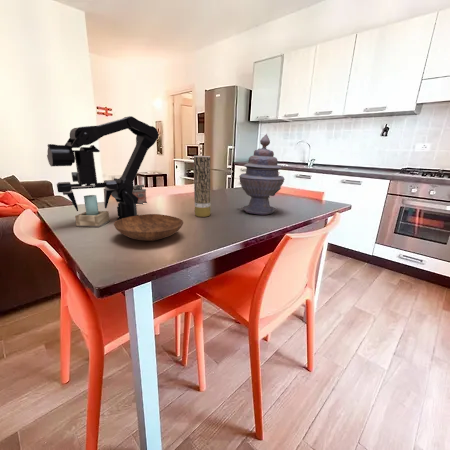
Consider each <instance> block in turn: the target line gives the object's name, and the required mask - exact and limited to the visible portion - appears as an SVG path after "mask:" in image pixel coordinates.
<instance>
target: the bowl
mask: <svg viewBox="0 0 450 450" xmlns="http://www.w3.org/2000/svg"><path fill="white" fill-rule="evenodd" d="M183 225H184V221H183V219H181V218H178V217H176V216H173V215H172V216H171V215H167V214H159V213H148V214H137V216H131V217H127V218H122V219H117V220H115V221H114V223H113V226H114V228H115V229H116V231H118V232H119V233H120V234H121V235H123V236H125V237H127V238H130V239H133V240H139V241H146V242H147V241H148V242H149V241H153V242H155V241H159V240H162V239H165V238H168V237H171V236H172V235H174V234H175V233H178V231H180V229H182V227H183Z"/></svg>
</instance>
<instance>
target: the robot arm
mask: <svg viewBox="0 0 450 450" xmlns="http://www.w3.org/2000/svg"><path fill="white" fill-rule="evenodd" d="M127 129H128V130H129V131H130V132H131V133H132V134H134V135H136V137H135V147H134V149H133V151H132V153H131V156H130V157H129V159H128V162H127V163H126V166H125V168H124V171H123V173H122V175H121V176H120V177H119V178H117V177H114V178H113V179H110V180H109V179H107V180H103V182H98V178H97V171H96V162H95V155H94V153H100V152H101V150H100V149H99V148H97V147H96V146H95V145H94V144H93V143H95V142H97V141H98V140H100V139H101V138H103V137H105V136H108V135H111V134H115V133H118V132H121V131H124V130H125V131H126V130H127ZM159 135H160V134H159V132H158V130H157V128H156V127H155V126H152V125H149V124H147V123H145V122H143V121H140V120H138V119H137V118H136V117H134V116H130V115H129V116H125V117H123V118H120V119H117V120H112V121H110V122H109V121H108V122H106V123H102V124H99V125H98V124H97V125H86V126H79V127H74V128H72V129H70V132H69V138H68V140H67V142H66V143H65V144H52V143H51V144H49V143H47V154H46V157H47V158H46V159H47V161H48V165H49V166H50V167H72V165H73V164H74V163H75V166H76V171H73V172H72V171H71V179H72V182H73V183H71V181H64V182H61V181H60V182H57V183H56V190H57V193H62V195H64V196H65V195H66V196H67V197H68V198H69V200H70V201H71V203H72V205H73V206H74V209H75V211H76V212H78V211H79V208H78V207H79V206H78V203H77V200H76V198H75V197H76V196H75V194H74V191H73V190H81V189H83V190H85V189H100V188H101V189H102V188H103V194H104V195H103V198H104V199H103V201H104V202H103V203H104V208H105V209H107V208H108V204H109V201H110V197H112V198H113V199H115V201H116V203H117V206H116V210H117V220H120V219H122V218H127V217H131V216H137V215H138V211H137V205H136V204H137V203H138V198H137V197H136V196H135V195H134V194H133V190H134V186H135V185H134V182H135V181H134V180H135V178H136V176H137V174H138V172H139V170H140V167H141V166H142V163H143V161H144V159H145V157H146V155H147V153H148V150H149V149H150V148H151V147H153V146H154V145H155V144H156V142H157V140H158V139H159V137H160V136H159ZM91 144H93V145H91ZM89 145H90V146H89ZM86 146H87V147H86ZM88 146H89V147H88ZM73 149H75V150H73ZM77 149H78V150H77ZM76 182H77V183H76Z"/></svg>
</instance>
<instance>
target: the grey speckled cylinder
mask: <svg viewBox="0 0 450 450" xmlns="http://www.w3.org/2000/svg"><path fill="white" fill-rule="evenodd" d="M193 187H194V188H193V189H194V190H193V193H194V215H195V217H199V218H205V217H209V216H210V215H211V197H212V196H211V194H212V193H211V192H212V191H211V155H193Z"/></svg>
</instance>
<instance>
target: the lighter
mask: <svg viewBox="0 0 450 450" xmlns="http://www.w3.org/2000/svg"><path fill="white" fill-rule="evenodd" d="M144 187H145V185H144V184H136V185H134V189H133V194H134V195H135V196H136V197H137V198H138V203H137V204H142V205H144V204H143V203H147V204H148V202H147V192H146V191H147V189H146V188H144Z"/></svg>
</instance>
